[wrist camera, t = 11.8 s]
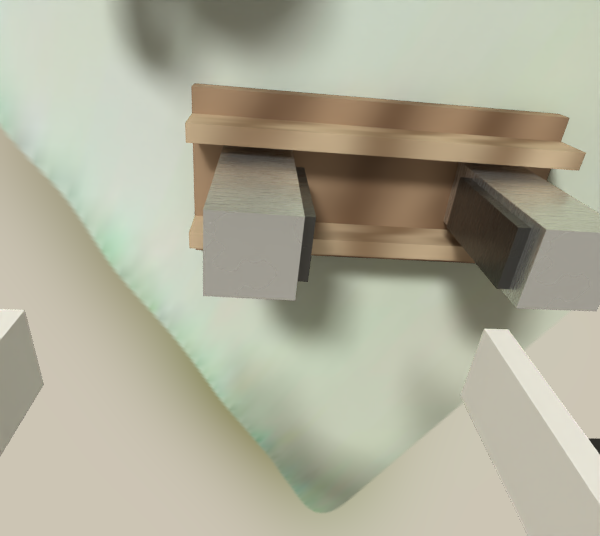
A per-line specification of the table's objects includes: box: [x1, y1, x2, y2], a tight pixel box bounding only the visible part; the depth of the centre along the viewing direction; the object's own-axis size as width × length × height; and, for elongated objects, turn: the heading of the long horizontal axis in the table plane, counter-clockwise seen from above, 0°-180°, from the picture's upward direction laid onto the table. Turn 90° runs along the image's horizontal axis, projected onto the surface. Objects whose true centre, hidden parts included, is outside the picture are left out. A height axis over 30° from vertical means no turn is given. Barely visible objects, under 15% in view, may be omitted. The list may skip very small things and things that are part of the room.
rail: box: [185, 83, 586, 263], centre depth 28 cm, size 22×10×4 cm, turn 85°
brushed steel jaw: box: [203, 145, 316, 300], centre depth 23 cm, size 5×4×10 cm
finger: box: [443, 162, 600, 311], centre depth 25 cm, size 5×4×10 cm
